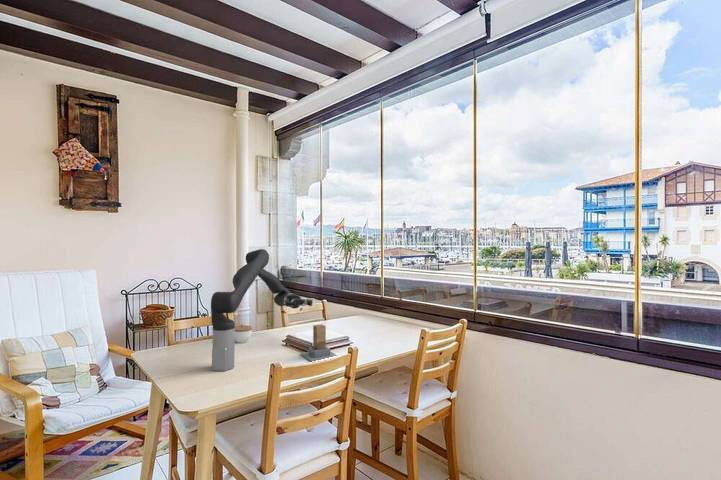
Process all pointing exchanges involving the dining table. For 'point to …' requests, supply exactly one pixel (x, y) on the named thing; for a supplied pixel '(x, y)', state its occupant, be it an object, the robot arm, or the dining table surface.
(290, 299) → the robot arm
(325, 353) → the slate stand
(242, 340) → the lidded jar
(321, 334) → the walnut block
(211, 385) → the dining table surface
